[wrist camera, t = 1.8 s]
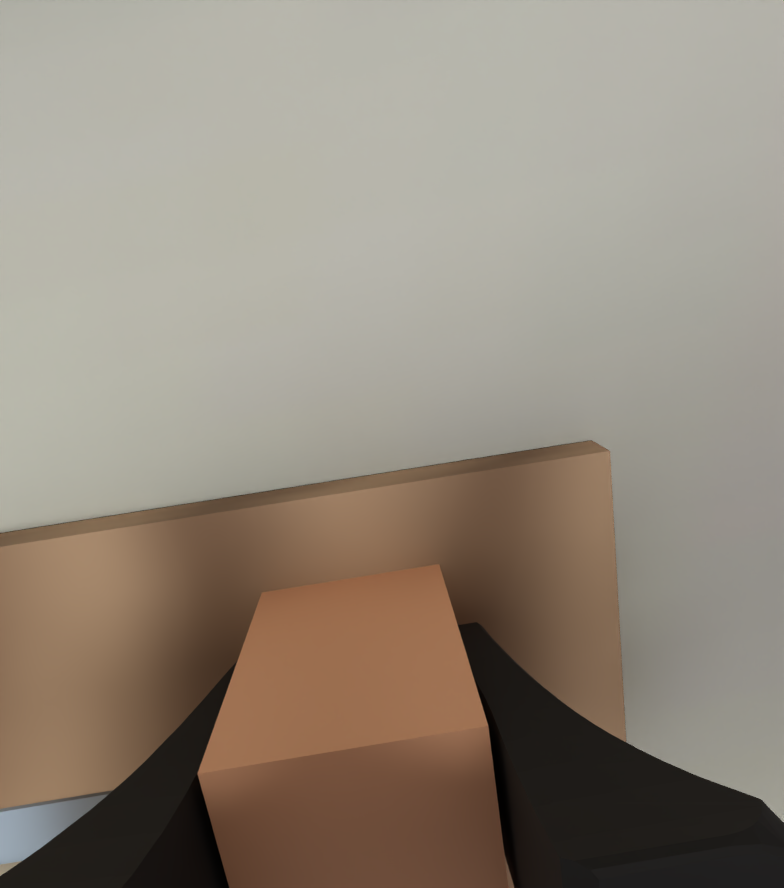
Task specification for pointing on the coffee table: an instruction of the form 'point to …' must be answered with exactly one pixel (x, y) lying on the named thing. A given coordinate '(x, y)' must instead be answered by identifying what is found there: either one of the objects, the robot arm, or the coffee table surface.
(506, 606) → the building board
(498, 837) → the terracotta block
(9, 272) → the coffee table surface
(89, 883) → the robot arm
